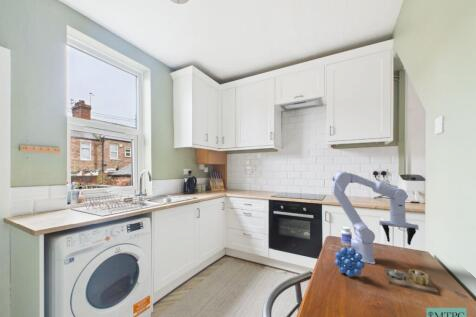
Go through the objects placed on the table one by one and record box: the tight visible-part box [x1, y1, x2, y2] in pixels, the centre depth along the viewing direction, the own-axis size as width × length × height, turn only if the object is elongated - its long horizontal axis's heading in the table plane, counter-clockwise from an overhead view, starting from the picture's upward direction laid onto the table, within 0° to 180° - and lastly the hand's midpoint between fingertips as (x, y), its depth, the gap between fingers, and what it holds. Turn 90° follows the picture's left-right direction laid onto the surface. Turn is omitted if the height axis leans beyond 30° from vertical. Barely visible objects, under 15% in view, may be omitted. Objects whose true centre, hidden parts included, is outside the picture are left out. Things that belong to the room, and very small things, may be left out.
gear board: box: [383, 267, 439, 296], centre depth 79 cm, size 14×12×4 cm
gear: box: [407, 268, 430, 285], centre depth 78 cm, size 6×7×3 cm
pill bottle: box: [340, 226, 353, 247], centre depth 118 cm, size 5×5×10 cm
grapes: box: [334, 246, 366, 278], centre depth 83 cm, size 12×7×12 cm, turn 39°
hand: (398, 242), depth 95 cm, fingers open, 7 cm apart
